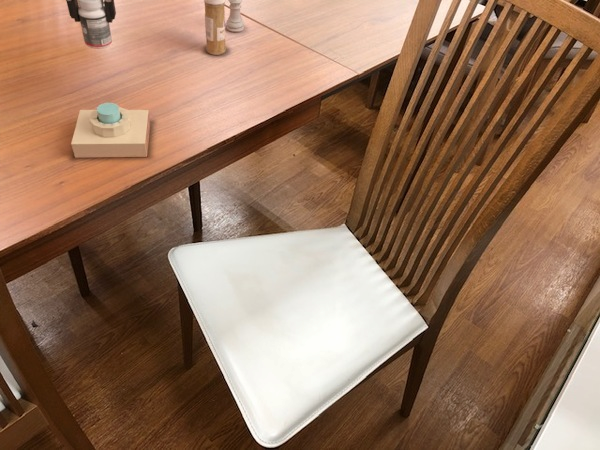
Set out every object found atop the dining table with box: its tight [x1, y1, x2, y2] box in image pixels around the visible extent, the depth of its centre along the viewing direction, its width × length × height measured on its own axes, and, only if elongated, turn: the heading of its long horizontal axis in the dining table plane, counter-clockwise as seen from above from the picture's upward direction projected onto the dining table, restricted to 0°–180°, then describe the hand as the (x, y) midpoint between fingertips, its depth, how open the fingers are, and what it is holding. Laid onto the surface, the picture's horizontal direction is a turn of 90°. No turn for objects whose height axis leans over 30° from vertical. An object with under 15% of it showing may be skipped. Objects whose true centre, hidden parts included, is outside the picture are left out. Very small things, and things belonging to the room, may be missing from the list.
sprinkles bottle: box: [203, 0, 227, 56], centre depth 112 cm, size 5×5×13 cm
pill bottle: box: [78, 0, 113, 50], centre depth 89 cm, size 5×5×8 cm
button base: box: [70, 106, 151, 159], centre depth 89 cm, size 12×10×5 cm
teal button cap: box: [96, 102, 121, 124], centre depth 87 cm, size 4×4×2 cm
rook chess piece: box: [225, 0, 245, 33], centre depth 122 cm, size 4×4×8 cm
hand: (94, 19), depth 89 cm, fingers closed on pill bottle, 4 cm apart
